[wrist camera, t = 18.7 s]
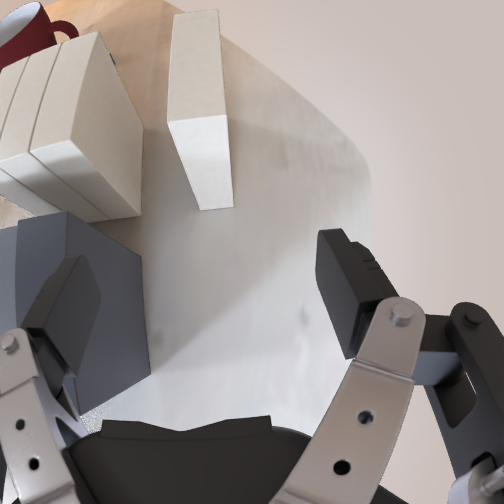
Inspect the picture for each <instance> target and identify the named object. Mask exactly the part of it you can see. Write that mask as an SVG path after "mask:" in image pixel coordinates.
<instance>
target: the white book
mask: <svg viewBox="0 0 504 504" xmlns="http://www.w3.org/2000/svg"><path fill="white" fill-rule="evenodd" d="M167 124H168V127H169V129H170V132H171V135H172V137H173V140H174V143H175V146H176V148H177V151H178V154H179V156H180V159H181V161H182V164H183V167H184V169H185V172H186V175H187V177H188V180H189V182H190V185H191V188H192V190H193V193H194V195H195V198H196V201H197V203H198V206H199V208H200V210H210V209H219V208H229V207H234V202H233V189H232V176H231V163H230V150H229V136H228V122H227V109H226V97H225V86H224V74H223V62H222V50H221V37H220V25H219V12H218V9H214V10H204V11H196V12H188V13H181V14H175V15H174V20H173V30H172V41H171V53H170V67H169V84H168V105H167Z"/></svg>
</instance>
